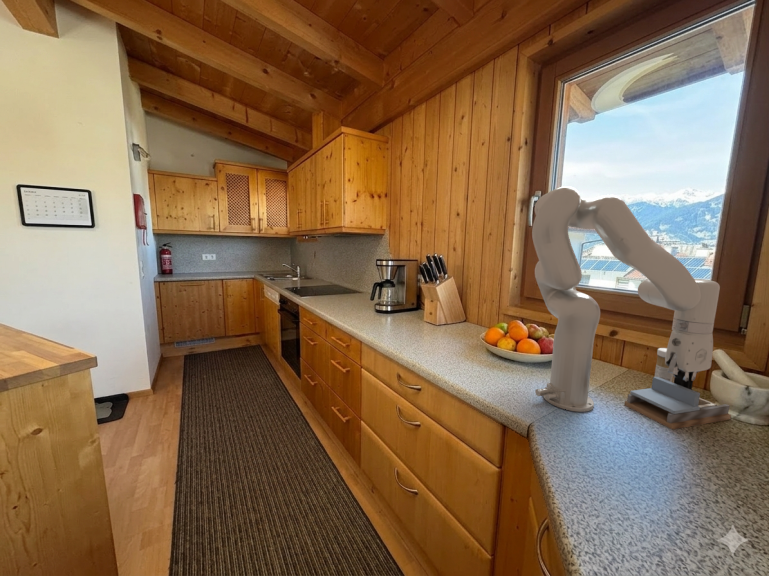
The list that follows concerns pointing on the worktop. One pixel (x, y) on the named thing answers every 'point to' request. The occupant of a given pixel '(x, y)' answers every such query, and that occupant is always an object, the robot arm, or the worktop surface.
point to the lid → (669, 396)
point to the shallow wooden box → (674, 421)
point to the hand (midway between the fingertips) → (681, 392)
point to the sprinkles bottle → (663, 366)
